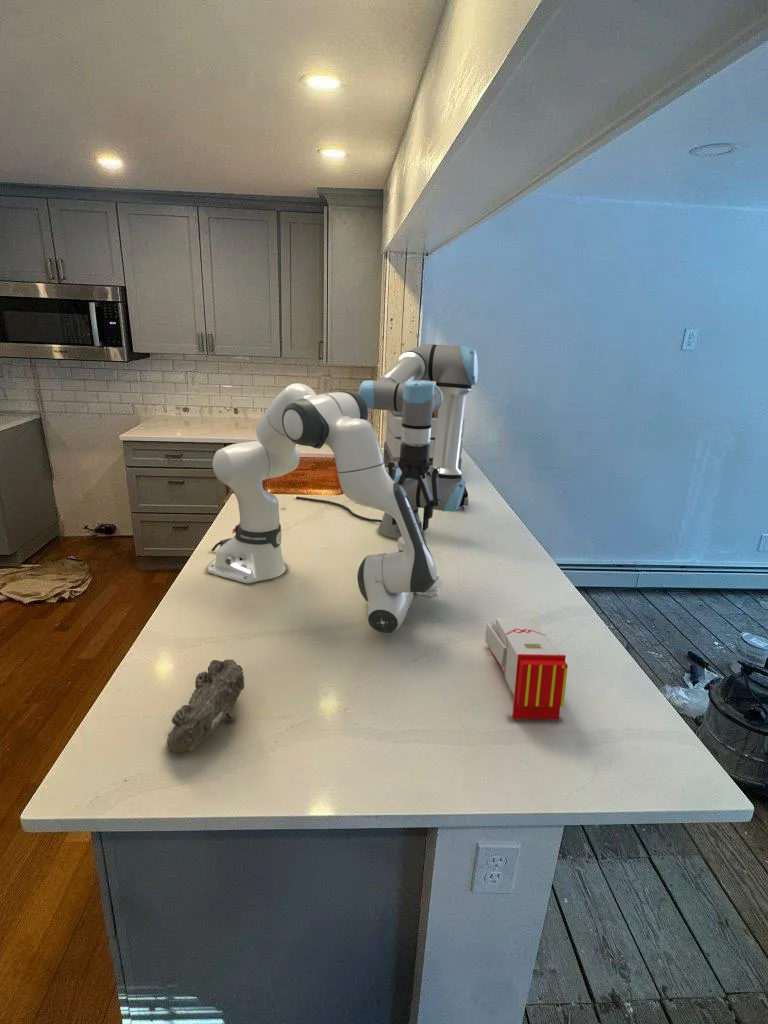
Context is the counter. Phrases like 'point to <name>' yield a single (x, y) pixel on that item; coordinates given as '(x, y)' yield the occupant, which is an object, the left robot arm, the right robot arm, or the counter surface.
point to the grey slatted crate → (395, 441)
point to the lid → (401, 544)
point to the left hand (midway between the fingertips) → (407, 569)
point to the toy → (529, 667)
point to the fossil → (206, 705)
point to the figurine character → (464, 499)
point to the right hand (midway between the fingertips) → (410, 526)
